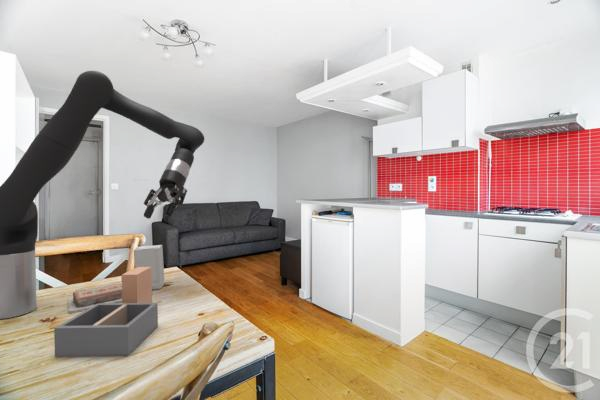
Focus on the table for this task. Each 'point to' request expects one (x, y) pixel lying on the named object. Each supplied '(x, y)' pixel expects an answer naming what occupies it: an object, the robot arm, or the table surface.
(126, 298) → the salmon rectangular block
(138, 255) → the skincare box
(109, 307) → the grey open tray
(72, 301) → the packaged product
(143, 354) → the table surface
